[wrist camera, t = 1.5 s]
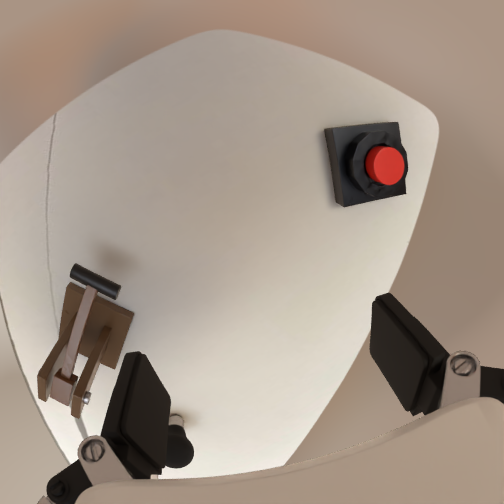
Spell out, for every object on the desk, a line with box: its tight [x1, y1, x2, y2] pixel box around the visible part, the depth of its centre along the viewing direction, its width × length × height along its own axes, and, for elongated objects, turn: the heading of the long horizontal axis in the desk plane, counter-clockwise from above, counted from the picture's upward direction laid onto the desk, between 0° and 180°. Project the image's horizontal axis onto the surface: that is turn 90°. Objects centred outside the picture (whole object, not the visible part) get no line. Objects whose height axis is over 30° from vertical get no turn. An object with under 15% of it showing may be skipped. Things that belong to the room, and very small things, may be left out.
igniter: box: [324, 122, 408, 207], centre depth 26 cm, size 8×8×4 cm
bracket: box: [37, 282, 134, 419], centre depth 26 cm, size 10×9×13 cm
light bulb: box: [165, 415, 194, 468], centre depth 35 cm, size 6×6×10 cm
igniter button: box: [365, 146, 404, 185], centre depth 24 cm, size 4×4×2 cm
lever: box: [50, 264, 121, 406], centre depth 22 cm, size 14×5×2 cm, turn 151°
